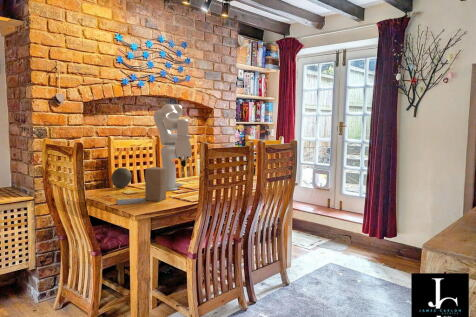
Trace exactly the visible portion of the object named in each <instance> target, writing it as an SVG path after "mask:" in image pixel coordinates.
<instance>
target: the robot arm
mask: <svg viewBox="0 0 476 317" xmlns="http://www.w3.org/2000/svg"><path fill="white" fill-rule="evenodd" d="M182 115H183V107H182V105H180V104H179V103H178V104H176V103H175V104H174V103H165V104H163V105H162V106H161V109H157V110H155V111H154V113H153V120H154V124H155V126H156V128H157V129H158V131H157V132H158V134H159V139H160V144H161V146H163V147H161V149H160V155H161V164H162V165H161V166H162V167H161V168H166V192H169V191H170V192H171V191H177V190H179V187H183V183H182V182H181V183H177V168H176V166H177V165H176V163H175V162H174V160H179V161H180V166H181V167H182V168H185V167H186V166H187V160H188V159H191V158H192V144H191V141H190V139H192V137H191V136H190V135H189V133H190V131H189V130H190V129H189V127H190V126H189V119H185V118H184V119H183V118H181V116H182ZM172 131H173V132H172ZM174 131H176V132H174Z"/></svg>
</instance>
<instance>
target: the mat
mask: <svg viewBox="0 0 476 317" xmlns="http://www.w3.org/2000/svg"><path fill="white" fill-rule="evenodd" d="M115 201H116V204H117V206H125V205H135V204H137V205H139V204H147V203H148V201H147V200H145V197H139V198H137V197H136V198H135V197H134V198H123V199H122V198H121V199H116V200H115Z"/></svg>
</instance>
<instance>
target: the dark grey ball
mask: <svg viewBox="0 0 476 317" xmlns="http://www.w3.org/2000/svg"><path fill="white" fill-rule="evenodd" d="M132 175H133V174H132V172H131V171H130V170H129V169H128V168H127V167H126V168H125V167H118V168H116V169H114V170H113V172H112V173H111V178H110V180H111V183H112V185H113V186H114V187H116V188H117V189H123V188H126V187H127V186H128V185H129V184H130V183H131V181H132Z"/></svg>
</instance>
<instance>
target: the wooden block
mask: <svg viewBox="0 0 476 317" xmlns="http://www.w3.org/2000/svg"><path fill="white" fill-rule="evenodd" d="M144 176H145V177H144V178H145V179H144V180H145V186H144V190H145V193H144V196H145V197H144V199H145V200H146V202H148V201H149V202H161V201H163V200H165V199H167V191H166V168H162V167H161V166H160V167H158V166H155V167H154V166H151V167H148V168H145V175H144Z"/></svg>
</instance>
